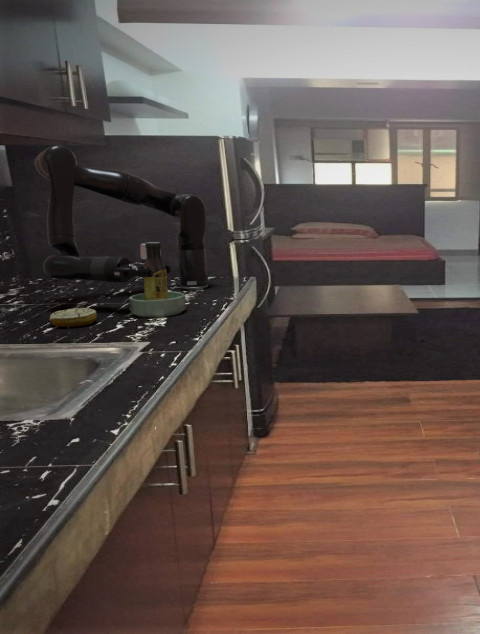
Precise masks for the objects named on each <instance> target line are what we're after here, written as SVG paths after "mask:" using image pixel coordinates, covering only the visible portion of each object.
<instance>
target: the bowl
mask: <svg viewBox="0 0 480 634" xmlns="http://www.w3.org/2000/svg"><path fill="white" fill-rule="evenodd" d="M129 307H130V308H129V309H130V314H131V315H135V316H136V317H140V318H164V317H165V318H166V317H171V316H176V315H179V314H181V313H183V312H184V311H185V310H186V309H187V303H186V295H185V293H183V292H178V291H168V299H166V300H154V301H145V292H143V293H137V294H133V295H131V296H129Z"/></svg>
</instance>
